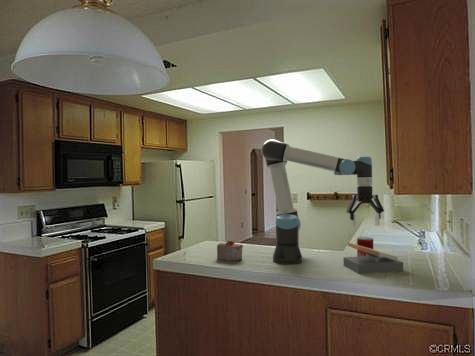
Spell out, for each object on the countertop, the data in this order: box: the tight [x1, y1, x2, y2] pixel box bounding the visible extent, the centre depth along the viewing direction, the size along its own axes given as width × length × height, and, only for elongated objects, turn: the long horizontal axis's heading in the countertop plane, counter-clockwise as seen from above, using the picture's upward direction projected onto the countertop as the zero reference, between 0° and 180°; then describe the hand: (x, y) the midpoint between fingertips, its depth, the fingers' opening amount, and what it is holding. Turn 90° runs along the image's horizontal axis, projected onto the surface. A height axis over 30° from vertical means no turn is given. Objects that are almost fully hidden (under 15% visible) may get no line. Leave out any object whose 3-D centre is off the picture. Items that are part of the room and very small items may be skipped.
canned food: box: [356, 236, 374, 257], centre depth 173 cm, size 8×8×11 cm
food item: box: [216, 240, 244, 262], centre depth 172 cm, size 14×8×10 cm, turn 70°
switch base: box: [343, 254, 404, 274], centre depth 154 cm, size 22×14×6 cm, turn 99°
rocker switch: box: [347, 242, 399, 260], centre depth 154 cm, size 20×10×2 cm, turn 99°
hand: (365, 225), depth 173 cm, fingers open, 13 cm apart
